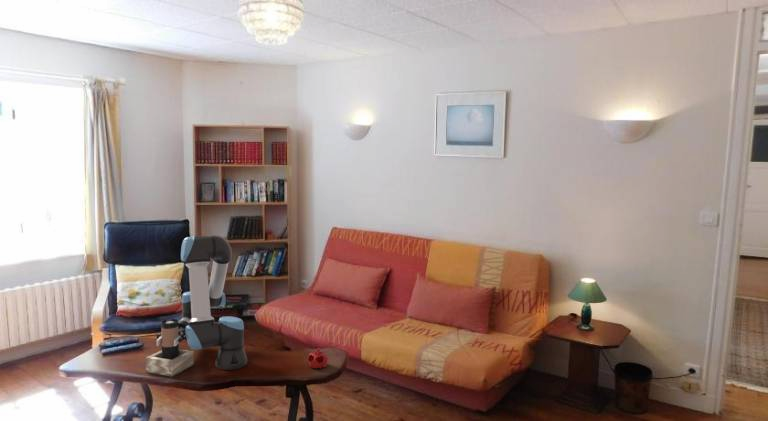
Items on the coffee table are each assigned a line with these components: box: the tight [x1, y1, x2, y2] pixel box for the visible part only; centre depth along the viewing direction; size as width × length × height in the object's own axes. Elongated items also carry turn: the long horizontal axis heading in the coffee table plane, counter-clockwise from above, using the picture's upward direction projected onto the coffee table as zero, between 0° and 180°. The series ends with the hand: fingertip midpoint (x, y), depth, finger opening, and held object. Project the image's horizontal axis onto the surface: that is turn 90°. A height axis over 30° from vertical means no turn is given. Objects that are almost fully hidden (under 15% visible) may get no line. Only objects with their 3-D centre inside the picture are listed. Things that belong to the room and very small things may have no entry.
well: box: [145, 348, 195, 377], centre depth 244 cm, size 15×15×7 cm
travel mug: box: [160, 318, 180, 360], centre depth 243 cm, size 8×8×20 cm
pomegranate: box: [307, 347, 329, 369], centre depth 251 cm, size 10×10×9 cm
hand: (166, 343), depth 238 cm, fingers closed on travel mug, 7 cm apart
